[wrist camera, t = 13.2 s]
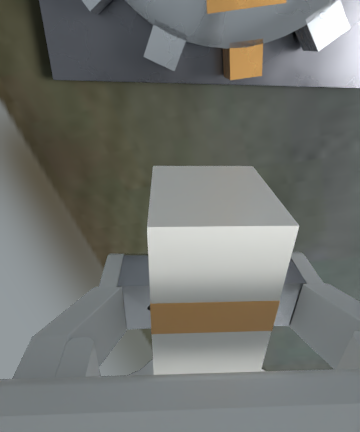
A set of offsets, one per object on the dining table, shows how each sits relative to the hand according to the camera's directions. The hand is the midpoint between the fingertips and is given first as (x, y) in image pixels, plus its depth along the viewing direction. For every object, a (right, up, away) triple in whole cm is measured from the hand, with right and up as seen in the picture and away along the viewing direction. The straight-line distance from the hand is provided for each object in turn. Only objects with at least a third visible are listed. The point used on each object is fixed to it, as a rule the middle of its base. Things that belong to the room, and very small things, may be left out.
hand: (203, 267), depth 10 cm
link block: (0, +1, +2) cm, 2 cm away
